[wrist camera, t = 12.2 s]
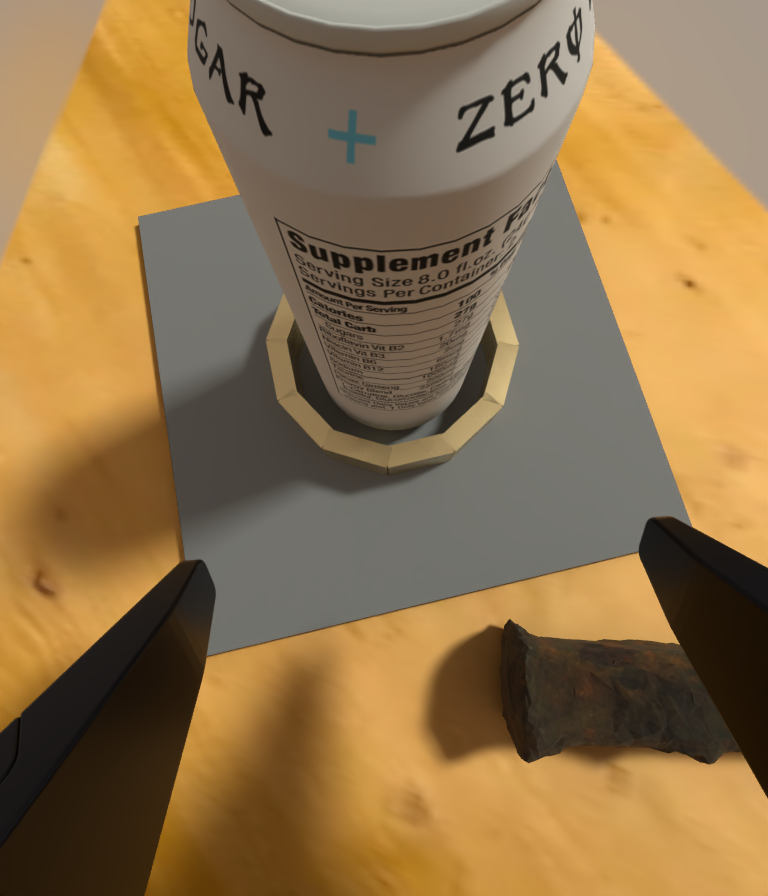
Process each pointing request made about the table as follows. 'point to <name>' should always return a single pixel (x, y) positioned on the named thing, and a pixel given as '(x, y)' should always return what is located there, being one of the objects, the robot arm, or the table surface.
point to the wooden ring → (402, 456)
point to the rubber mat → (392, 441)
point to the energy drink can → (391, 169)
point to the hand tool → (606, 697)
